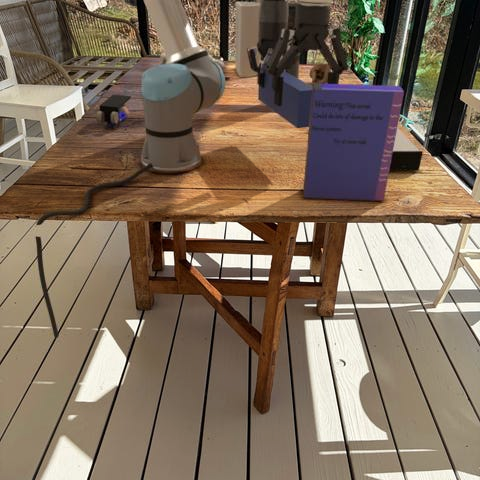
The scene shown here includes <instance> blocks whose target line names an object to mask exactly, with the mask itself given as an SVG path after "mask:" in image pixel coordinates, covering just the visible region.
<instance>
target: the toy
mask: <svg viewBox="0 0 480 480" xmlns="http://www.w3.org/2000/svg"><path fill="white" fill-rule="evenodd" d="M208 56H209V58H210V60H212V61H214V62H215V63H217V64H218V65H219V66H220V67H221V68H223V67H225V66H226V64H225V63H224V62H223V60H220V59H216V58H215V59H214V58H213V56H212V55H210V54H208ZM166 61H167V56H166V53H165V51H163V52H161V54H160V55H159V65H163V64H166Z"/></svg>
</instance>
